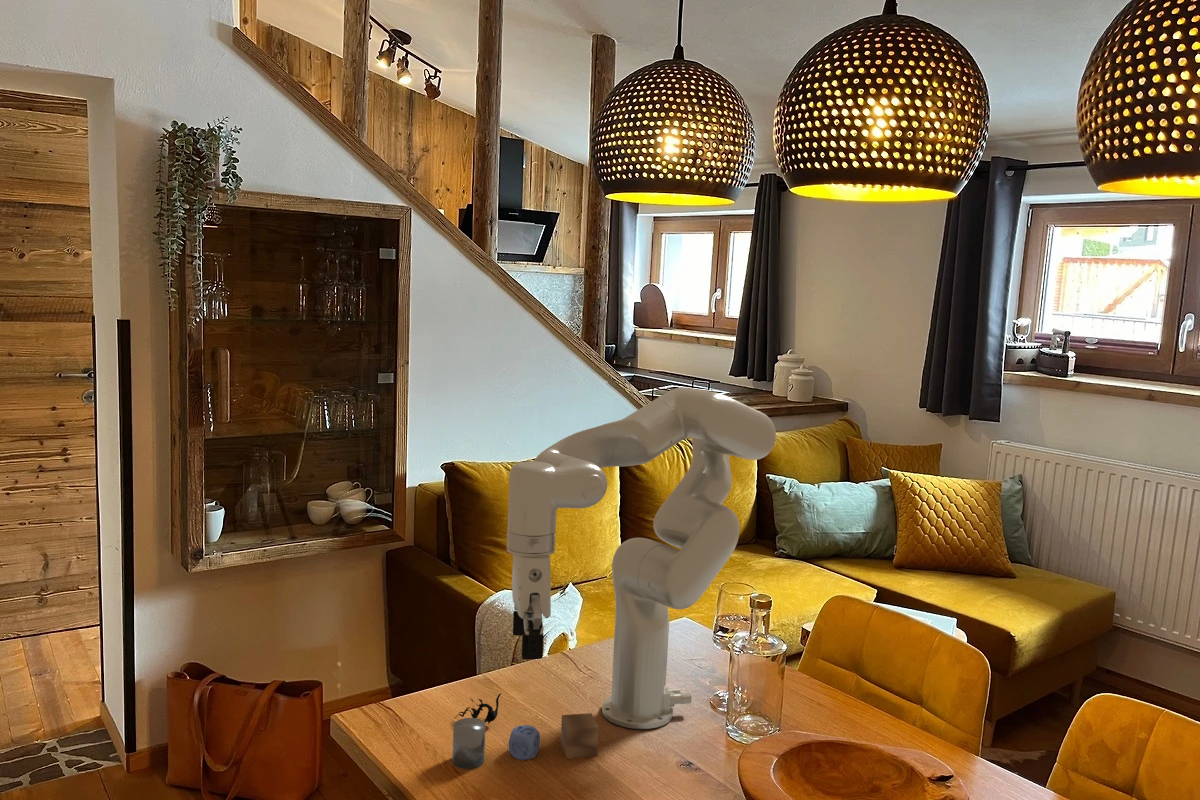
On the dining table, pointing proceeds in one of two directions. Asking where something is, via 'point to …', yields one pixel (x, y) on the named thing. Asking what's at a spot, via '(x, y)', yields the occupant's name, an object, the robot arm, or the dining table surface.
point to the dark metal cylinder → (468, 743)
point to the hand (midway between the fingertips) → (527, 646)
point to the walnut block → (579, 735)
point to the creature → (490, 715)
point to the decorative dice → (524, 742)
